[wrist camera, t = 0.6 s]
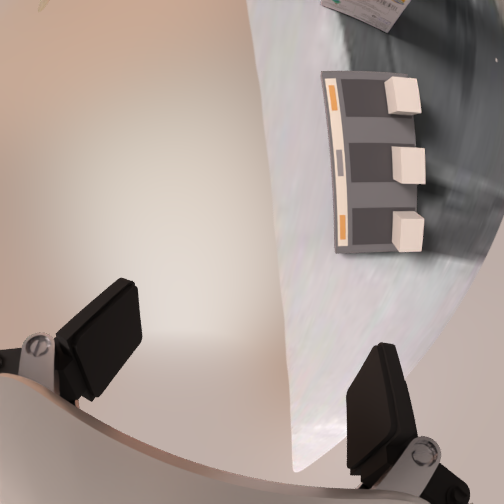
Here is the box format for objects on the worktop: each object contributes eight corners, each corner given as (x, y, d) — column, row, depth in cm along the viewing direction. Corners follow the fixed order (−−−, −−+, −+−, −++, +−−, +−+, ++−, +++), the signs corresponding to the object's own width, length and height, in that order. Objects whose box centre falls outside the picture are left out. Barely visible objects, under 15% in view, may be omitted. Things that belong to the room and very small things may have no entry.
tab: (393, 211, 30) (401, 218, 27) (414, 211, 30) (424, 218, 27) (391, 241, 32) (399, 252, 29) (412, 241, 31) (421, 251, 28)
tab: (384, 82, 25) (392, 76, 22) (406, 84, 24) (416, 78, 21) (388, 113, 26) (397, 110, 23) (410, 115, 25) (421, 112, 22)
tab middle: (391, 146, 28) (400, 147, 24) (413, 147, 27) (424, 148, 24) (393, 179, 29) (401, 183, 26) (414, 179, 28) (425, 184, 25)
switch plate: (320, 75, 28) (321, 71, 26) (402, 77, 26) (407, 74, 24) (334, 247, 36) (335, 253, 34) (409, 245, 34) (413, 250, 32)
